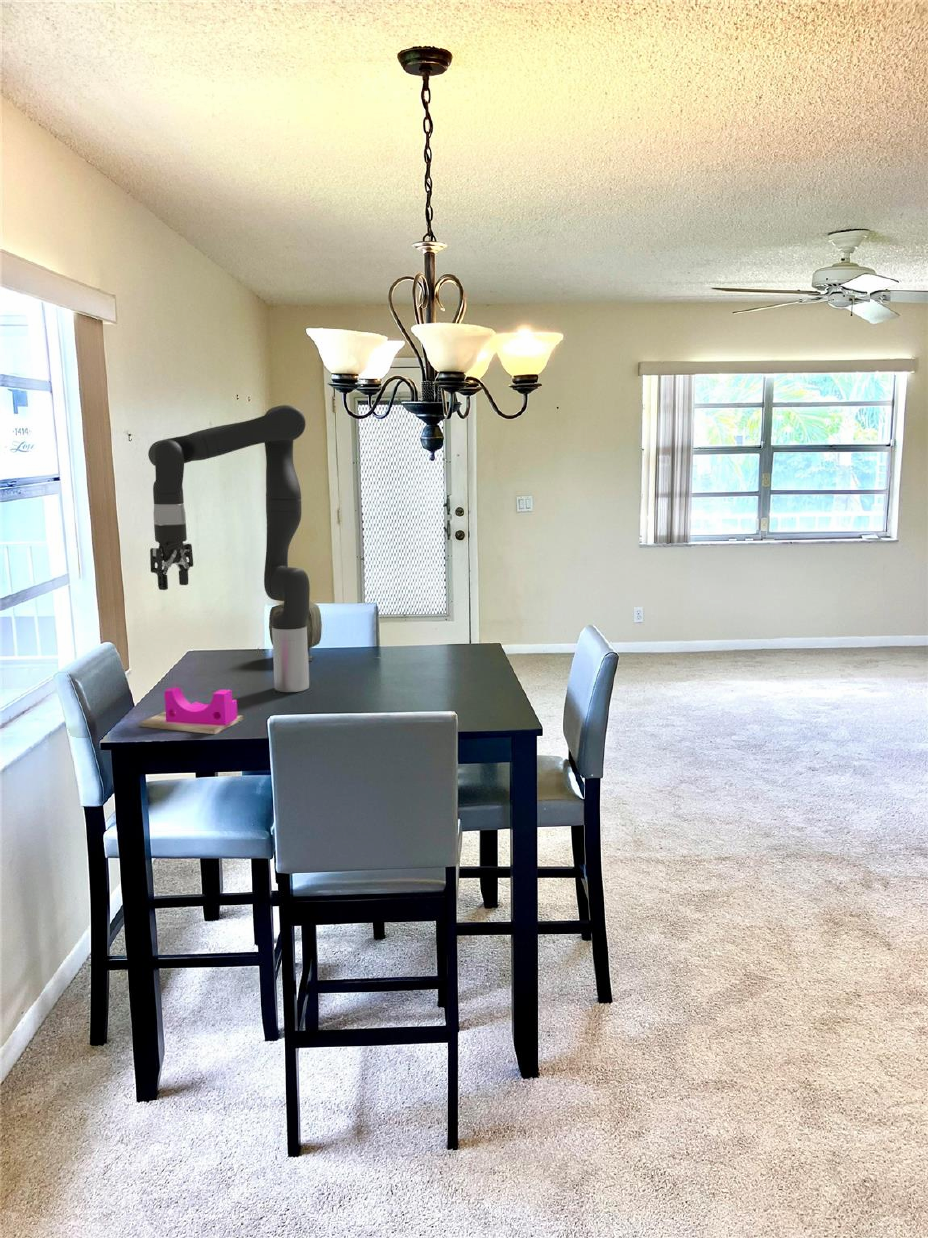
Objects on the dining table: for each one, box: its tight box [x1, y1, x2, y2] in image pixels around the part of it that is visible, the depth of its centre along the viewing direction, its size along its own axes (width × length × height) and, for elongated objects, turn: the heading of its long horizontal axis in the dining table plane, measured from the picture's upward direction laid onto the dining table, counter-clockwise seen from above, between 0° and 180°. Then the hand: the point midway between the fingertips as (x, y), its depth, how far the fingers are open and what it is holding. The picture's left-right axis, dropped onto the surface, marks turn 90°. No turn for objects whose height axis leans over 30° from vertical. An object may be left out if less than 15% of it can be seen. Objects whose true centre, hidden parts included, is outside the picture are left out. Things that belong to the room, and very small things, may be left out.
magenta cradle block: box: [163, 686, 238, 726], centre depth 208 cm, size 15×6×8 cm, turn 79°
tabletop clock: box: [268, 601, 323, 662], centre depth 276 cm, size 14×9×25 cm, turn 77°
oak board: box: [139, 711, 244, 735], centre depth 210 cm, size 12×20×1 cm, turn 73°
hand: (173, 587), depth 221 cm, fingers open, 8 cm apart
